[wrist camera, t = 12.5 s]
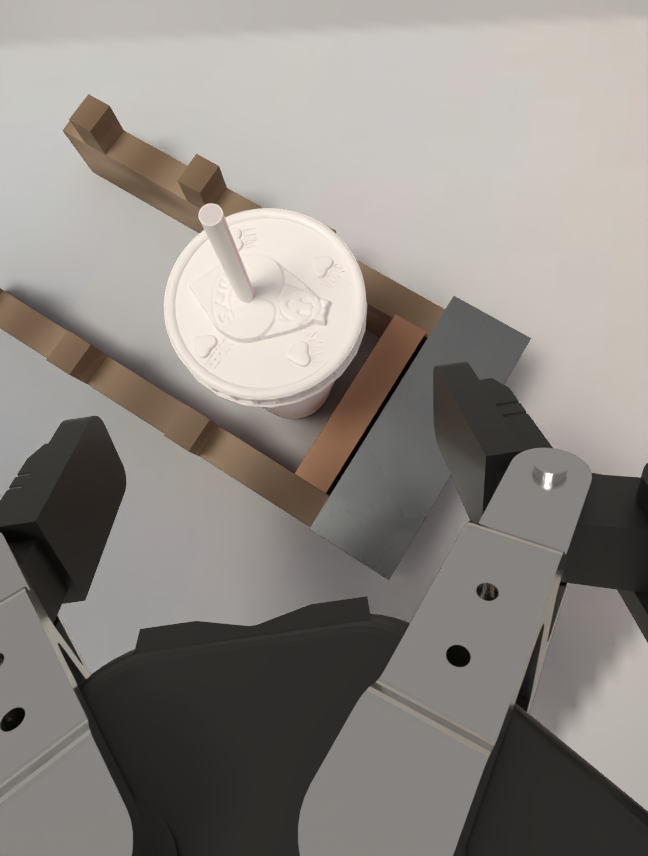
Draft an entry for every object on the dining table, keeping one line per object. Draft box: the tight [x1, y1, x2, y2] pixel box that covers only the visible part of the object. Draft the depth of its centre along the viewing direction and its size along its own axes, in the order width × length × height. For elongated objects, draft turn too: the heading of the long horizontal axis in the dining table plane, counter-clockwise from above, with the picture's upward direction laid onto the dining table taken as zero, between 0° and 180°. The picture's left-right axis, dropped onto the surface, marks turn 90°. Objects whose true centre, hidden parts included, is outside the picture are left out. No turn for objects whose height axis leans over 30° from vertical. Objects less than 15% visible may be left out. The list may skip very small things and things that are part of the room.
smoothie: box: [164, 203, 367, 419], centre depth 19 cm, size 6×6×14 cm
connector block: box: [310, 296, 531, 580], centre depth 22 cm, size 4×11×4 cm, turn 148°
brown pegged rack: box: [0, 94, 445, 527], centre depth 24 cm, size 22×11×4 cm, turn 58°
